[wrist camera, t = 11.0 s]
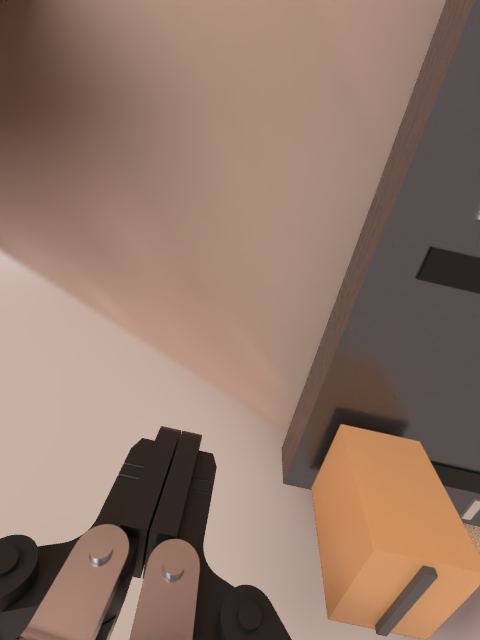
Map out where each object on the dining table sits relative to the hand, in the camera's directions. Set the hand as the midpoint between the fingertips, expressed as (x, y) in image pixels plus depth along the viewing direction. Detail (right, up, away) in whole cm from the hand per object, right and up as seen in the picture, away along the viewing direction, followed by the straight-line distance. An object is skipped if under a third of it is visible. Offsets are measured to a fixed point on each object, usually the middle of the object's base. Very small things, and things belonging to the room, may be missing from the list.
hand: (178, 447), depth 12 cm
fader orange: (+7, -1, +1) cm, 7 cm away
